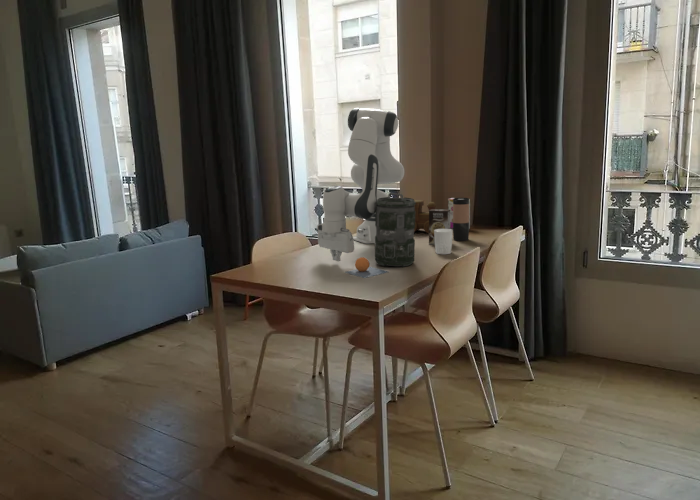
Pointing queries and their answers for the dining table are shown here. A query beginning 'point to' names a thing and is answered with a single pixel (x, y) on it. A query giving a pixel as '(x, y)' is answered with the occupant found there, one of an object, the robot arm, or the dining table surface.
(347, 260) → the dining table surface
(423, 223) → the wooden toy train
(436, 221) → the coffee box
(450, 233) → the white cup
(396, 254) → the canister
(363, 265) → the ball
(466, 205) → the travel mug
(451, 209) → the candy bar box
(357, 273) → the mark
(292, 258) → the dining table surface
